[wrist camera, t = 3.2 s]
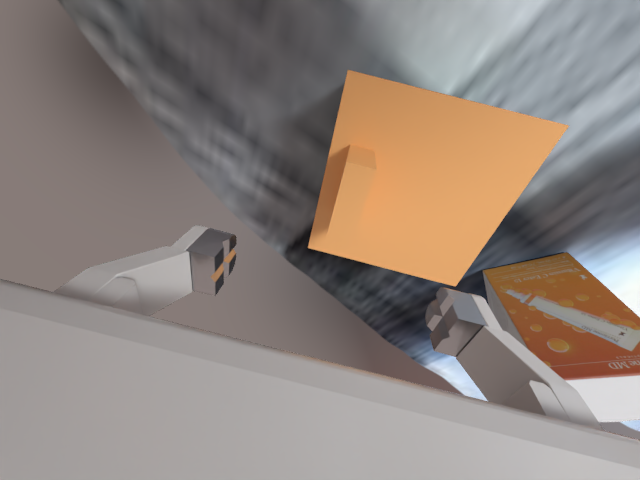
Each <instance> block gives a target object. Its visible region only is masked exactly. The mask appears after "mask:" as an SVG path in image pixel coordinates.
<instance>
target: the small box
mask: <svg viewBox="0 0 640 480" xmlns="http://www.w3.org/2000/svg"><path fill="white" fill-rule="evenodd" d="M483 276H484V282H485V287H486V293H487V298H488V304H489V307H490V309H491V311H492V313H493V314H494V316H495V318H496V320H497V321H498V323H499V325H500V327H501V328H502V330H503V331H506V332H508V333H509V334H510V335H511V336H513V337H514V338H515V339H516V340H517V341H519V342H520V343H521V344H522V345H523V346H525V347H526V348H527V349H528V350H529V351H530V352H532V353H533V354H534V355H535V356H536V357H538V358H539V359H540V360H541V361H542V362H543V363H545V364H546V365H547V366H548V367H549V368H551V369H552V370H553V371H554V372H555V373H557V374H558V375H559V376H560V377H561V378H562V379H564V380H565V381H566V382H567V383H568V384H570V385H571V386H572V387H573V388H574V389H576V390H577V391H578V393H579V394H580V396H581V397H582V398H583V400H584V401H585V403H586V404H587V406H588V407H589V409H590V410H591V412H592V413H593V414H594V416H595V417H596V419H597V420H598V422H620V421H630V420H640V317H638V316H637V315H636V314H635V313H634V312H633V311H632V310H631V309H630V308H628V307H627V306H626V305H625V304H624V303H623V302H622V301H621V300H620V299H618V298H617V297H616V296H615V295H614V294H613V293H612V292H611V291H610V290H609V289H608V288H607V287H606V286H604V285H603V284H602V283H601V282H600V281H599V280H598V279H597V278H596V277H594V276H593V275H592V274H591V273H590V272H589V271H588V270H587V269H585V268H584V267H583V266H582V265H581V264H580V263H579V262H578V261H577V260H575V259H574V258H573V257H572V256H571V255H570V254H569V253H567V252H565V253H561V254H558V255H553V256H549V257H545V258H540V259H535V260H530V261H526V262H521V263H516V264H511V265H506V266H502V267H497V268H492V269H485V270H483Z"/></svg>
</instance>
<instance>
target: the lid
mask: <svg viewBox="0 0 640 480" xmlns="http://www.w3.org/2000/svg"><path fill="white" fill-rule="evenodd" d="M567 128H568V125H564V124H560V123H556V122H552V121H548V120H545V119H541V118H537V117H533V116H529V115H525V114H521V113H517V112H513V111H509V110H505V109H501V108H497V107H493V106H489V105H485V104H481V103H477V102H473V101H469V100H465V99H461V98H457V97H454V96H450V95H446V94H442V93H438V92H434V91H430V90H426V89H422V88H418V87H414V86H410V85H406V84H402V83H398V82H394V81H390V80H386V79H382V78H378V77H374V76H370V75H367V74H363V73H359V72H355V71H351V70H348V71H347V76H346V80H345V85H344V89H343V94H342V98H341V102H340V107H339V111H338V116H337V120H336V125H335V129H334V134H333V138H332V143H331V147H330V151H329V156H328V160H327V165H326V169H325V174H324V178H323V183H322V187H321V191H320V196H319V200H318V205H317V209H316V214H315V218H314V223H313V227H312V231H311V236H310V240H309V245H308V248H310V249H314V250H318V251H322V252H325V253H329V254H333V255H337V256H341V257H344V258H348V259H352V260H356V261H360V262H364V263H367V264H371V265H375V266H379V267H383V268H386V269H390V270H394V271H398V272H402V273H406V274H409V275H413V276H417V277H421V278H425V279H428V280H432V281H436V282H440V283H444V284H448V285H451V286H455V287H456V285H457V284H458V282H459V281H460V280H461V278H462V277H463V275H464V274H465V272H466V271H467V270H468V268H469V267H470V265H471V264H472V263H473V261H474V260H475V258H476V257H477V255H478V254H479V253H480V251H481V250H482V248H483V247H484V246H485V244H486V243H487V241H488V240H489V238H490V237H491V236H492V234H493V233H494V231H495V230H496V229H497V227H498V226H499V224H500V223H501V221H502V220H503V219H504V217H505V216H506V214H507V213H508V211H509V210H510V209H511V207H512V206H513V204H514V203H515V202H516V200H517V199H518V197H519V196H520V194H521V193H522V192H523V190H524V189H525V187H526V186H527V185H528V183H529V182H530V180H531V179H532V177H533V176H534V175H535V173H536V172H537V170H538V169H539V168H540V166H541V165H542V163H543V162H544V160H545V159H546V158H547V156H548V155H549V153H550V152H551V150H552V149H553V148H554V146H555V145H556V143H557V142H558V141H559V139H560V138H561V136H562V135H563V133H564V132H565V131H566V129H567Z"/></svg>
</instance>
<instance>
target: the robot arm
mask: <svg viewBox="0 0 640 480" xmlns="http://www.w3.org/2000/svg"><path fill="white" fill-rule="evenodd" d="M235 245H236V236H235V235H234V234H230V233H227V232H223V231H219V230H215V229H212V228H208V227H204V226H200V225H195V226H193V227H192V228H191V229H190V230H189V231H188V232H186V233H185V234H184V235H183V236H182V237H181V238H180V239H178V240H177V241H176V242H175V243H174V244H173V245H172V246H171V247H168V246H164V247H160V248H157V249H153V250H149V251H146V252H142V253H139V254H135V255H132V256H128V257H125V258H121V259H118V260H114V261H110V262H106V263H103V264H99V265H96V266H92V267H89V268H87V269H86V270H84V271H83V272H81V273H80V274H78V275H77V276H75V277H74V278H73V279H71V280H70V281H68V282H67V283H65V284H64V285H63V286H61V287H60V288H58V289H57V290H55V291H54V292H50V291H46V290H42V289H38V288H34V287H30V286H26V285H23V284H18V283H14V282H11V281H7V280H2V279H0V480H640V440H639V439H635V438H631V437H627V436H623V435H619V434H615V433H611V432H607V431H605V430H604V429H603V428H602V426H601V425H600V423H599V422H598V420H597V419H596V417H595V416H594V414H593V413H592V412H591V410H590V409H589V407H588V406H587V404H586V403H585V401H584V400H583V398H582V397H581V396H580V394H579V393H578V391H577V390H576V389H574V388H573V387H572V386H571V385H570V384H568V383H567V382H566V381H565V380H564V379H562V378H561V377H560V376H559V375H558V374H557V373H555V372H554V371H553V370H552V369H551V368H549V367H548V366H547V365H546V364H545V363H543V362H542V361H541V360H540V359H539V358H538V357H536V356H535V355H534V354H533V353H532V352H530V351H529V350H528V349H527V348H526V347H525V346H523V345H522V344H521V343H520V342H519V341H517V340H516V339H515V338H514V337H513V336H511V335H510V334H509V333H508V332H506V331H503V330H502V328H501V327H500V325H499V323H498V321H497V320H496V318H495V316H494V314H493V313H492V311H491V309H490V307H489V305H488V304H487V302H486V300H485V299H484V298H483V297H482V296H479V295H474V294H470V293H464V292H459V291H455V290H451V289H447V288H443V287H442V288H440V289H439V290H438V292H437V293H436V297H437V299H436V300H434V301H432V302H430V304H429V306H428V307H427V311H426V323H427V326H428V327H429V328H430V330H431V331H432V333H431V334H430V339H431V342H432V346H433V349H434V351H436V352H440V353H444V354H447V355H451V356H454V357H456V359H457V360H458V362H459V363H460V364H461V365H462V367H463V368H464V369H465V371H466V372H467V373H468V375H469V376H470V377H471V379H472V380H473V381H474V383H475V384H476V385H477V387H478V388H479V389H480V391H481V392H482V393H483V395H484V396H485V397H486V399H487V400H488V401H489V402H488V401H484V400H480V399H476V398H472V397H468V396H464V395H460V394H456V393H452V392H447V391H444V390H440V389H436V388H432V387H428V386H424V385H420V384H416V383H412V382H408V381H404V380H400V379H396V378H392V377H388V376H384V375H381V374H377V373H373V372H369V371H365V370H361V369H357V368H353V367H349V366H345V365H341V364H337V363H333V362H329V361H325V360H321V359H317V358H313V357H309V356H305V355H301V354H297V353H293V352H288V351H285V350H281V349H277V348H273V347H269V346H265V345H261V344H257V343H253V342H249V341H245V340H241V339H237V338H233V337H229V336H225V335H221V334H217V333H213V332H210V331H205V330H202V329H197V328H194V327H190V326H185V325H182V324H178V323H174V322H170V321H166V320H162V319H158V318H154V317H150V315H152V314H154V313H155V312H157V311H159V310H161V309H163V308H164V307H166V306H168V305H170V304H172V303H174V302H175V301H177V300H179V299H181V298H183V297H184V296H186V295H188V294H190V293H192V292H193V291H197V292H201V293H205V294H210V295H214V296H215V295H216V294H217V293H218V291H219V290H220V288H221V287H222V285H223V283H224V278H225V277H227V276H229V275H230V273H231V271H232V269H233V267H234V264H235V260H236V253H235V251H234V250H233V248H234V247H235Z"/></svg>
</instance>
